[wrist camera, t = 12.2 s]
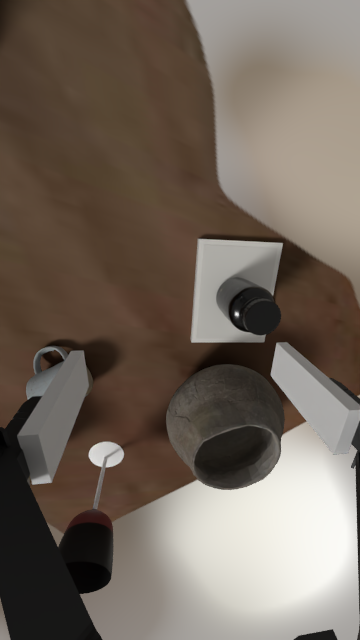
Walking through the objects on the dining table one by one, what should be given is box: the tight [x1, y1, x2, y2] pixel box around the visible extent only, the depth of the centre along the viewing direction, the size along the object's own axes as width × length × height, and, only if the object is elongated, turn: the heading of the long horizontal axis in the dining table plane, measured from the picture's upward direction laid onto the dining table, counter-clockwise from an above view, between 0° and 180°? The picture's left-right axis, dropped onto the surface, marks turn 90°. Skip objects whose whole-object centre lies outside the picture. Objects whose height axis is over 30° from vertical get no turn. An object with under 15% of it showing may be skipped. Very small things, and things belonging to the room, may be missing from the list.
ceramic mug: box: [26, 346, 93, 399], centre depth 40 cm, size 11×8×8 cm
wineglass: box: [58, 442, 124, 594], centre depth 43 cm, size 8×9×20 cm
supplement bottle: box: [216, 277, 281, 336], centre depth 35 cm, size 7×7×12 cm
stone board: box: [191, 239, 283, 342], centre depth 42 cm, size 18×14×1 cm
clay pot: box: [166, 364, 285, 490], centre depth 43 cm, size 22×21×15 cm
